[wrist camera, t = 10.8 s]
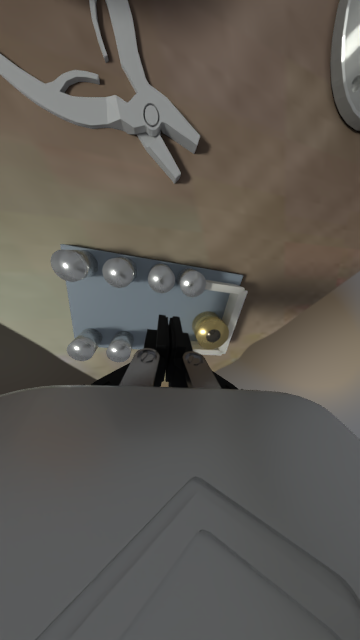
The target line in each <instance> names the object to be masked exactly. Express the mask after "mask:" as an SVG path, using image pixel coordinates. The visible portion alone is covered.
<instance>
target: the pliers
mask: <svg viewBox="0 0 360 640" xmlns="http://www.w3.org/2000/svg"><path fill="white" fill-rule="evenodd" d="M105 1H106V4H107V6H108V10H109V14H110V18H111V22H112V26H113V30H114V34H115V39H116V43H117V48H118V53H119V57H120V62H121V66H122V68H123V70H124V72H125V74H126V76H127V77H128V79H129V81H130V83H131V85H132V87H133V88H134V90H135V92H136V95H135V96H134V97H133V98H132V99H131V100H130V101H129V102H128V103H127V102H125V101H124V100H122V99H121V98H119V97H118V96H117V95H113V96H109V97H74V96H70V95H68V94H65V91H66V90H67V88H68V87H69V86H70V85H72V84H75V83H77V82H90V83H95V84H99V85H100V79H99V76H98V74H94V73H91V72H87V71H80V70H73V71H69V72H66V73H63V74H62V75H60V76H59V77H58V78H57V79H56V80H54V81H53V82H50V83H47V84H44V83H43V82H41V81H39V80H38V79H36V78H34V77H33V76H31V75H30V74H28V73H26V72H25V71H23V70H22V69H20V68H19V67H17V66H16V65H15V64H13V63H12V62H11V61H9V60H8V59H7V58H5V57H4V56H3V55H1V54H0V74H1V75H2V76H3V77H4V78H5V79H6V80H7V81H8V82H9V83H10V84H11V85H13V86H14V87H15V88H16V89H17V90H18V91H20V92H21V93H22V94H23V95H25V96H26V97H27V98H29V99H30V100H31V101H33V102H34V103H35V104H37V105H38V106H40V107H42V108H43V109H45V110H47V111H48V112H50V113H52V114H54V115H56V116H57V117H59V118H61V119H63V120H65V121H68V122H70V123H73V124H75V125H78V126H82V127H87V128H91V129H96V128H114V129H118V130H122V131H125V132H126V133H128V134H137V136H138V138H139V139H140V141H141V143H142V144H143V146H144V148H145V149H146V151H147V152H148V153H149V154H150V156H151V157H152V158H153V159H154V160H155V161H156V163H157V164H158V165H159V166H160V167H161V168H162V170H163V171H164V172H165V173H166V174H167V175H168V177H169V178H170V179H171V180H172V181H173V182H174V184H175V183H176V182H177V181H178V180H179V178H180V175H181V172H180V170H179V169H178V167H177V165H176V163H175V161H174V159H173V158H172V156H171V154H170V152H169V150H168V149H167V147H166V145H165V143H164V141H163V139H162V138H161V136H160V134H161V130H162V133H163V134H165V135H167V136H168V137H170V138H171V139H173V140H174V141H176V142H177V143H179V144H180V145H181V146H183V147H184V148H186V149H187V150H189V151H190V152H192V153H193V154H194V153H195V150H196V147H197V144H198V141H199V138H200V135H199V134H198V133H197V132H196V131H195V129H194V128H193V127H192V126H191V125H190V124H189V123H188V121H187V120H186V119H185V118H184V117H183V116H182V114H181V113H180V112H179V111H178V110H177V109H176V108H175V106H174V105H173V104H172V103H171V102H170V101H169V100H168V98H167V97H165V96H164V95H163V94H161V93H160V92H159V91H157V90H156V89H155V88H153V87H152V86H151V85H149V83H148V81H147V80H146V78H145V74H144V71H143V67H142V64H141V61H140V57H139V54H138V49H137V43H136V37H135V30H134V24H133V18H132V14H131V11H130V7H129V4H128V0H105ZM89 2H90V9H91V16H92V21H93V24H94V28H95V31H96V35H97V38H98V42H99V45H100V48H101V51H102V54H103V56H104V59H105V62H108V61H109V60H108V56H107V53H106V50H105V47H104V44H103V41H102V38H101V34H100V30H99V27H98V18H97V8H96V2H97V0H89Z"/></svg>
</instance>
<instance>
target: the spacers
mask: <svg viewBox="0 0 360 640" xmlns="http://www.w3.org/2000/svg"><path fill="white" fill-rule="evenodd" d="M51 266H52V268H53V270H54V272H55V273H56V274H57V275H58V276H59V277H60V278H62V279H64V280H66V281H70V282H76V281H79V280H82V279H85V278H87V277H90V276H93V275H94V274H95V273H96V272H97V270H98V263H97V260H96V259H95V257H94V256H93V255H92V254H91V253H89V252H87V251H84V250H58V251H56V252H54V254H53V255H52V257H51ZM102 273H103V276H104V278H105V280H106V281H107V282H108V283H109V284H110V285H111V286H113V287H116V288H123V287H126V286H128V285H129V284H130V283H131V282H132V281H133V279H134V278H135V277H136V274H137V268H136V265H135V264H134V262H133V261H132V260H130V259H129V258H126V257H119V258H112V259H109V260H107V261H106V262H105V263H104V265H103V269H102ZM177 282H178V285H179V287H180V288H181V290H182V292H183V293H184V294H185V295H186V296H188V297H197V296H199V295H201V294H202V293H203V291H204V290H205V287H206V280H205V277H204V276H203V275H202V274H201V273H200V272H198V271H196V270H194V269H191V268H186V269H183V270H182V271H181V272H180V273H179V275H178V277H177ZM148 283H149V286H150V287H151V289H152V290H154V291H155V292H157V293H167V292H169V291H170V290H171V289H172V288H173V286H174V284H175V276H174V273H173V272H172V270H171V269H170V268H169V267H168V266H167V265H165V264H162V263H159V264H156V265H154V266H153V267H152V268H151V270H150V273H149V275H148ZM101 342H102V335H101V333H100V332H99V331H97V330H95V329H91V328H88V329H85V330H83V331H82V332H81V333H80V334H79V335H78V336H77V337H76V338H75V339H74V340H73V341H72V342H71V343H70V344H69V345H68V347H67V352H68V354H69V356H70V357H72V358H73V359H75V360H79V361H85V360H88V359H90V358H91V357H92V356H93V354H94V353H95V351H96V349H97V348H98V346H99V345H100V343H101ZM133 342H134V337H133V335H132V334H131V333H129V332H127V331H120V332H117V333H116V334H115V335H114V337H113V339H112V341H111V343H110V345H109V347H108V349H107V351H106V353H107V356H108V358H109V359H110V360H112V361H115V362H123V361H126V360H127V359H128V358H129V357H130V353H131V350H132V346H133ZM144 343H145V341H144ZM143 348H144V347H143Z"/></svg>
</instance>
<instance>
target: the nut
mask: <svg viewBox="0 0 360 640" xmlns="http://www.w3.org/2000/svg"><path fill="white" fill-rule="evenodd" d="M192 330H193V332H194V334H195V336H196V339H197V341H198V343H199V345H200V346H201V347H203V348H205V349H216V348H218V347H220V346H222V345H223V344H224V343H225V342H226V341H227V339H228V336H229V329H228V327H227V325H226V324H225V323H224V322H223V321H222V320H221V319H220V318H219V317H218V316H217V315H216V314H215V313H213V312H210V311H206V312H202V313H200V314H198V315H197V316H196V317H195V318H194V320H193V322H192Z"/></svg>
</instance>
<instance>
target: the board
mask: <svg viewBox="0 0 360 640" xmlns="http://www.w3.org/2000/svg"><path fill="white" fill-rule="evenodd" d="M60 245H61V250H84V251H87V252H89V253H91V254H92V255H93V256H94V257H95V259H96V260H97V263H98V270H97V272H96V273H95V274H94V275H93V276H90V277H87V278H85V279H82V280H79V281H76V282H70V281H66V285H67V291H68V298H69V304H70V311H71V318H72V324H73V331H74V337H75V338H76V337H77V336H78V335H79V334H80V333H81V332H82V331H83V330H85V329H88V328H91V329H95V330H97V331H99V332H100V333H101V335H102V342H101V343H100V345H99V346H98V347H105V348H108V347H109V345H110V343H111V341H112V339H113V337H114V335H115V334H116V333H117V332H120V331H127V332H129V333H131V334H132V335H133V337H134V342H133V346H132V349H143V347H144V341H145V338H146V333H147V329H152V330H157V326H158V318H159V315H166V317H168V325H169V320H170V318H172V317H173V316H177V317H180V321H181V326H182V331H183V332H184V333H188V334H189V338H190V342H191V345H192V349H193V351H194V352H197V353H199V354H204V355H222V354H225V353H226V351H227V348H228V345H229V342H230V339H231V337H232V334H233V331H234V328H235V326H236V323H237V320H238V317H239V315H240V312H241V309H242V306H243V303H244V301H245V298H246V295H247V292H248V291H246V290H244V289H245V288H244V287H241V286H240V284H241V281H242V278H243V275H240V274H234V273H228V272H223V271H217V270H211V269H205V268H199V267H194V266H188V265H182V264H176V263H170V262H164V261H159V260H153V259H147V258H141V257H135V256H130V255H124V254H118V253H112V252H106V251H100V250H95V249H89V248H83V247H77V246H71V245H65V244H60ZM119 257H126V258H129V259H130V260H132V261H133V262H134V264H135V265H136V268H137V274H136V277H135V278H134V279H133V281H132V282H131V283H130V284H129V285H128V286H126V287H123V288H116V287H113V286H111V285H110V284H109V283H108V282H107V281H106V280H105V278H104V276H103V273H102V269H103V265H104V263H105V262H106V261H107V260H109V259H112V258H119ZM159 263H162V264H165V265H167V266H168V267H169V268H170V269H171V270H172V272H173V273H174V276H175V284H174V286H173V288H172V289H171V290H170V291H169V292H167V293H157V292H155V291H154V290H152V289H151V287H150V286H149V283H148V275H149V273H150V270H151V268H152V267H153V266H154V265H156V264H159ZM186 268H191V269H194V270H196V271H198V272H200V273H201V274H202V275H203V276H204V277H205V280H206V287H205V290H204V291H203V293H202V294H201V295H199V296H197V297H188V296H186V295H185V294H184V293H183V292H182V290H181V288H180V287H179V285H178V282H177V277H178V275H179V273H180V272H181V271H182V270H183V269H186ZM206 311H210V312H213V313H215V314H216V315H217V316H218V317H219V318H220V319H221V320H222V321H223V322H224V323H225V324H226V325H227V327H228V329H229V336H228V339H227V341H226V342H225V343H224V344H223V345H222V346H220V347H218V348H216V349H205V348H203V347H201V346H200V345H199V343H198V341H197V339H196V336H195V334H194V332H193V330H192V322H193V320H194V318H195V317H196V316H197V315H198V314H200V313H202V312H206Z"/></svg>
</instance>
